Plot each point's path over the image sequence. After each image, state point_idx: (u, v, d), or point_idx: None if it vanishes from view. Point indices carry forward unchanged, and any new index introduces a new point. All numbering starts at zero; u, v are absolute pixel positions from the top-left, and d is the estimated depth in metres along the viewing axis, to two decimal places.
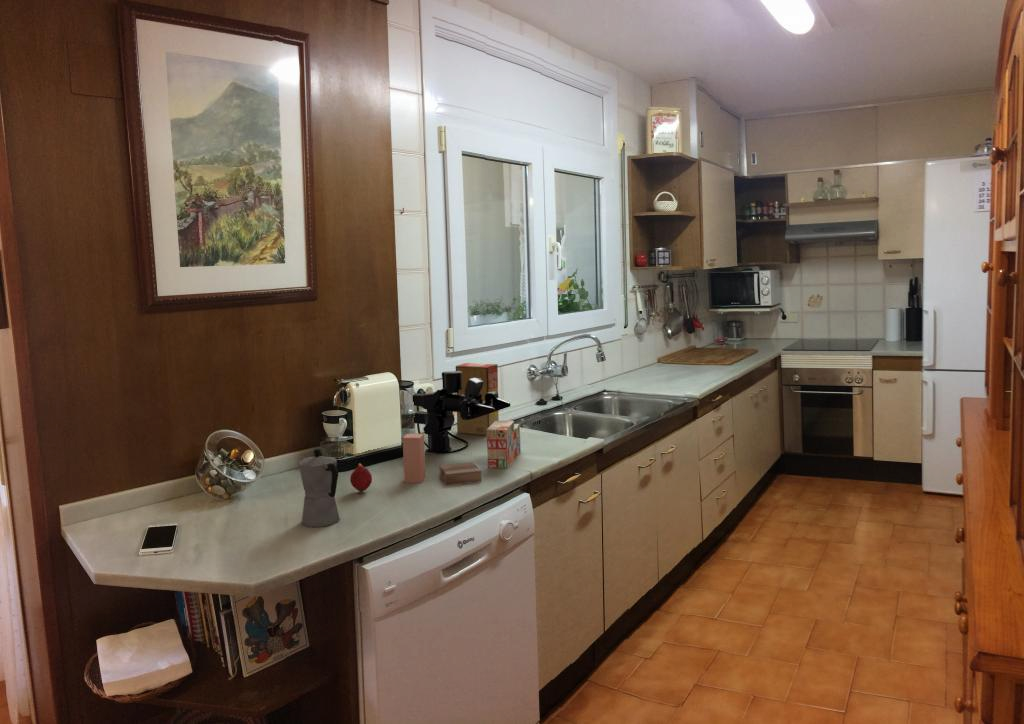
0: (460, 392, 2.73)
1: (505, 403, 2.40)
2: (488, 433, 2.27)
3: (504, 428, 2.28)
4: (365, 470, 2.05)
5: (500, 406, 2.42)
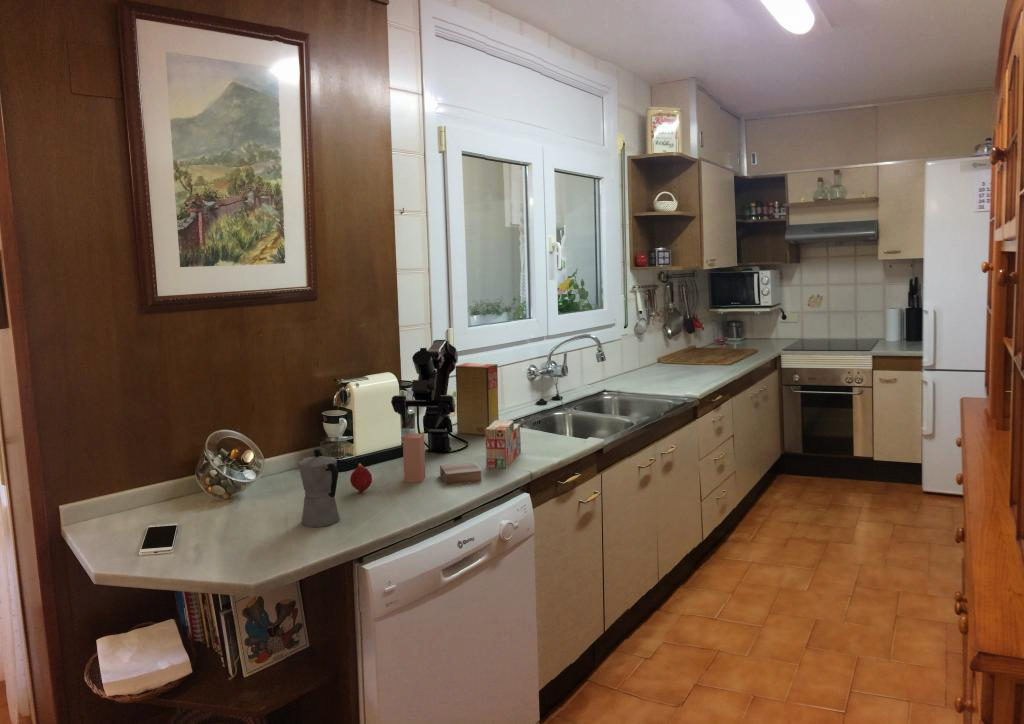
0: (460, 392, 2.73)
1: None
2: (487, 433, 2.27)
3: (503, 428, 2.28)
4: (365, 470, 2.05)
5: None
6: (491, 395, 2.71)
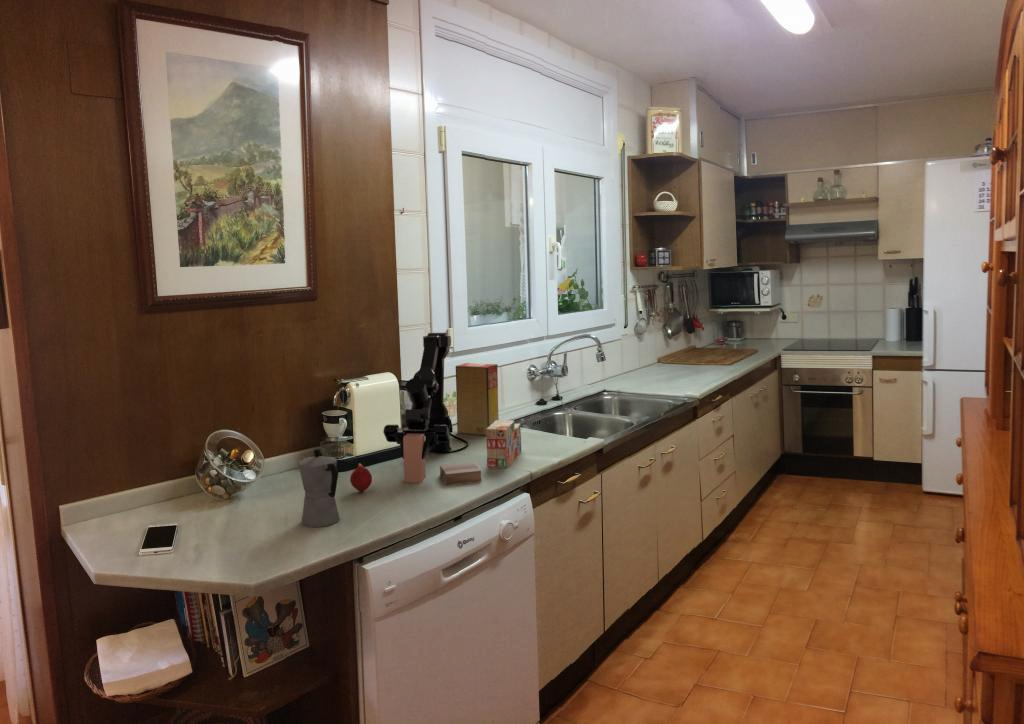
0: (460, 392, 2.73)
1: None
2: (488, 433, 2.28)
3: (504, 428, 2.28)
4: (365, 470, 2.05)
5: None
6: (491, 395, 2.71)
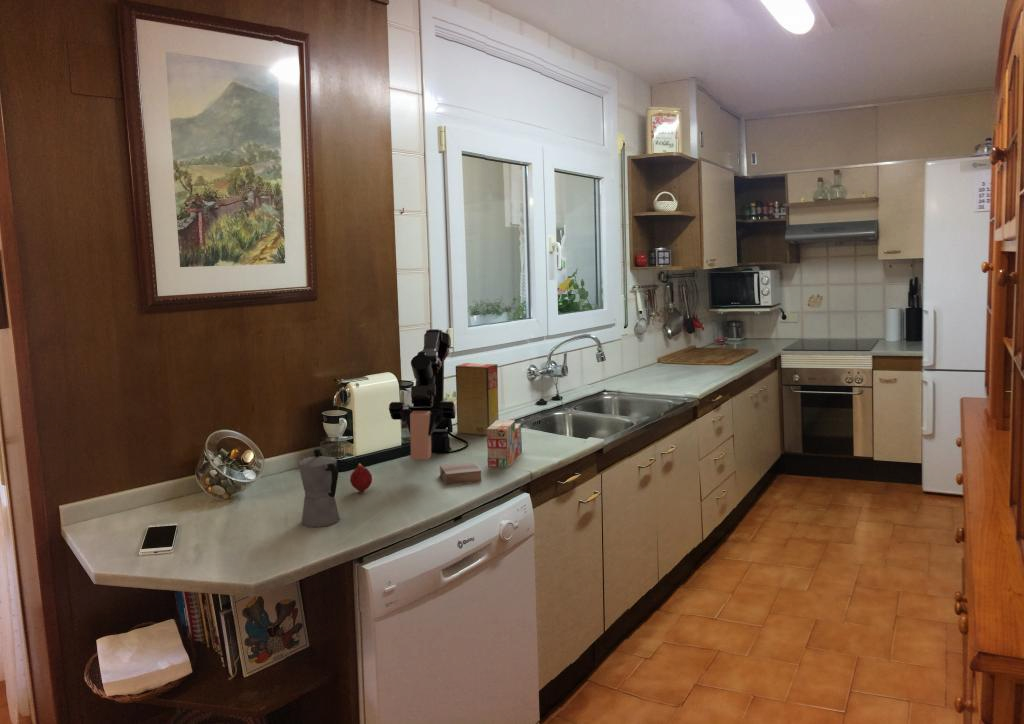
0: (460, 392, 2.73)
1: None
2: (488, 432, 2.28)
3: (504, 427, 2.28)
4: (365, 470, 2.05)
5: None
6: (491, 395, 2.71)
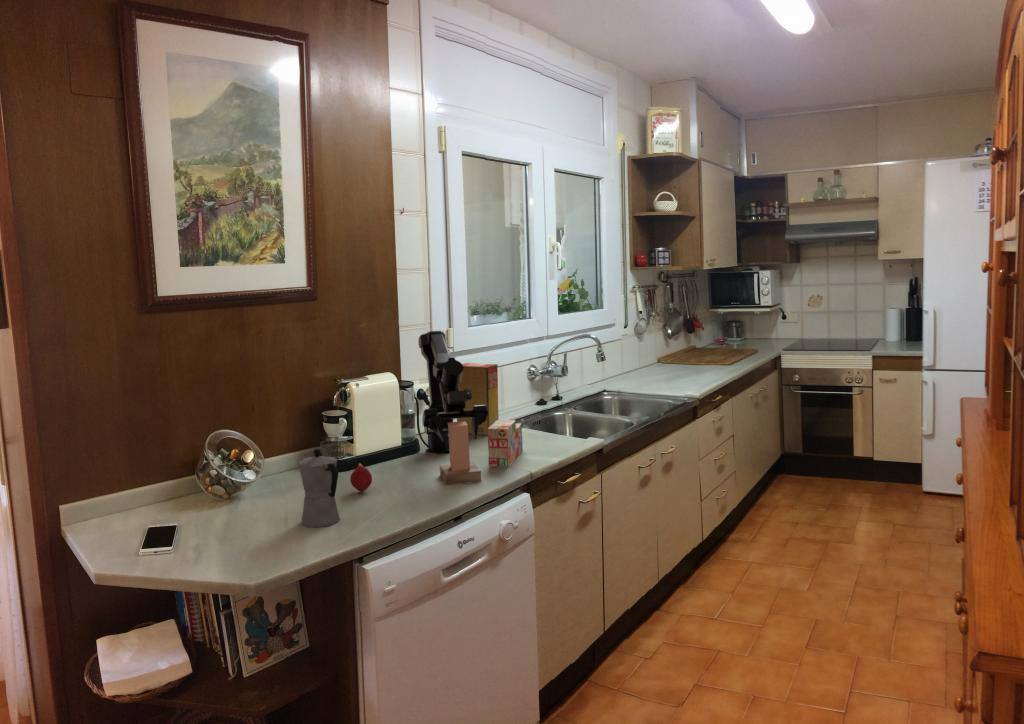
0: None
1: (474, 433, 2.17)
2: (489, 432, 2.28)
3: (505, 427, 2.29)
4: (365, 470, 2.05)
5: (474, 429, 2.19)
6: (491, 395, 2.71)
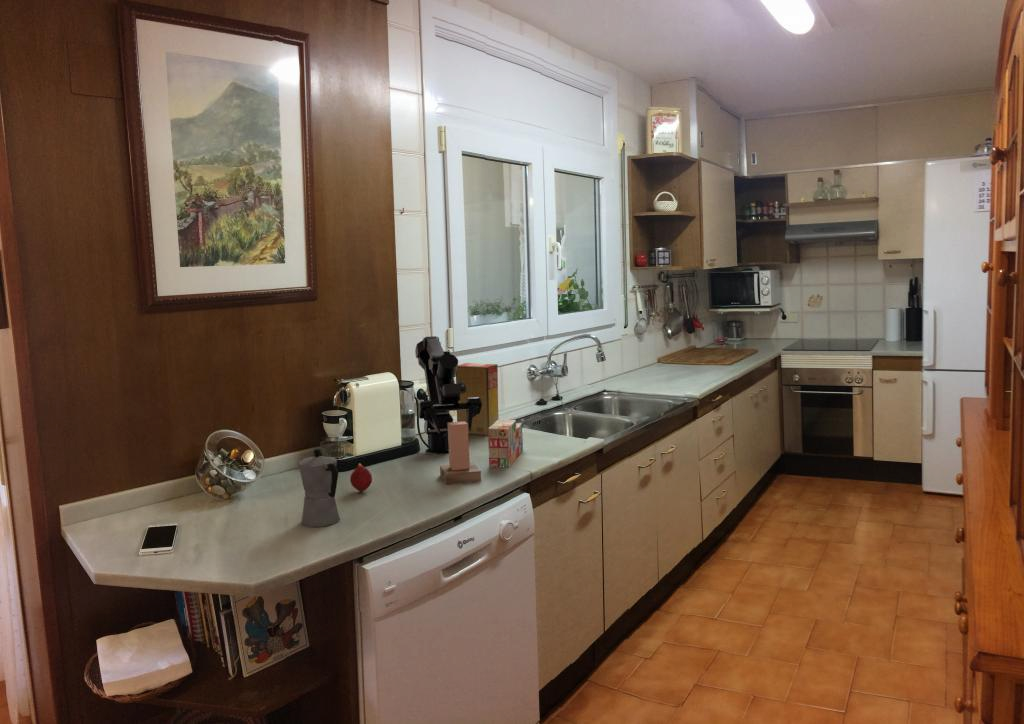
0: None
1: (468, 424, 2.24)
2: (490, 432, 2.28)
3: (506, 427, 2.29)
4: (365, 470, 2.05)
5: (468, 420, 2.26)
6: (491, 395, 2.71)
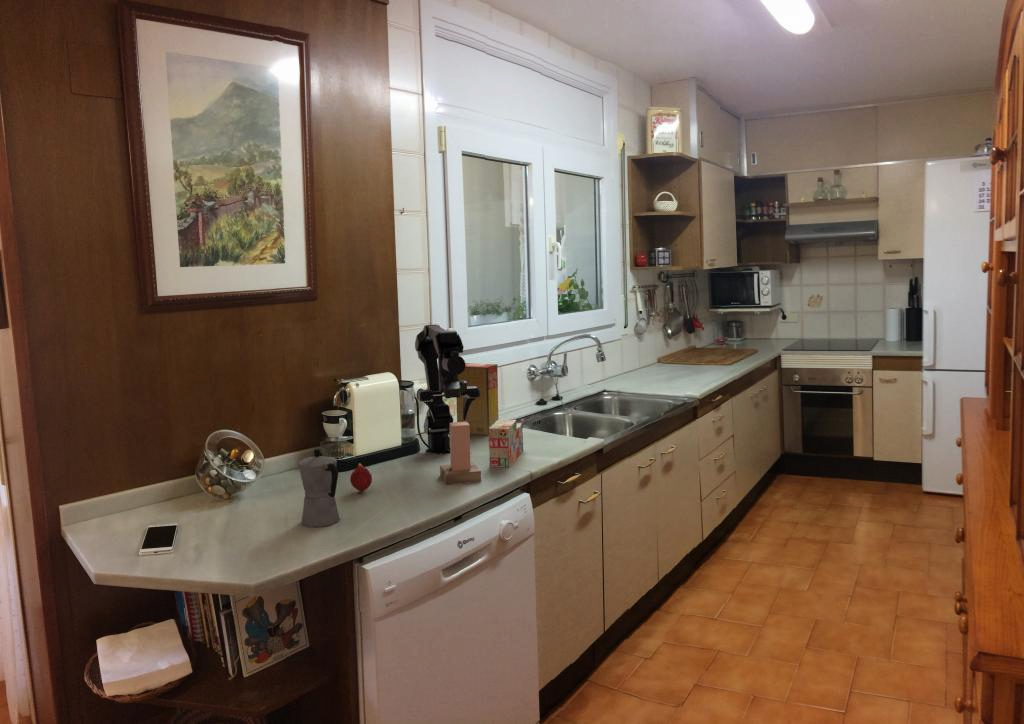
0: None
1: (463, 414, 2.35)
2: (490, 432, 2.28)
3: (506, 427, 2.29)
4: (365, 470, 2.05)
5: (464, 407, 2.36)
6: (491, 395, 2.71)
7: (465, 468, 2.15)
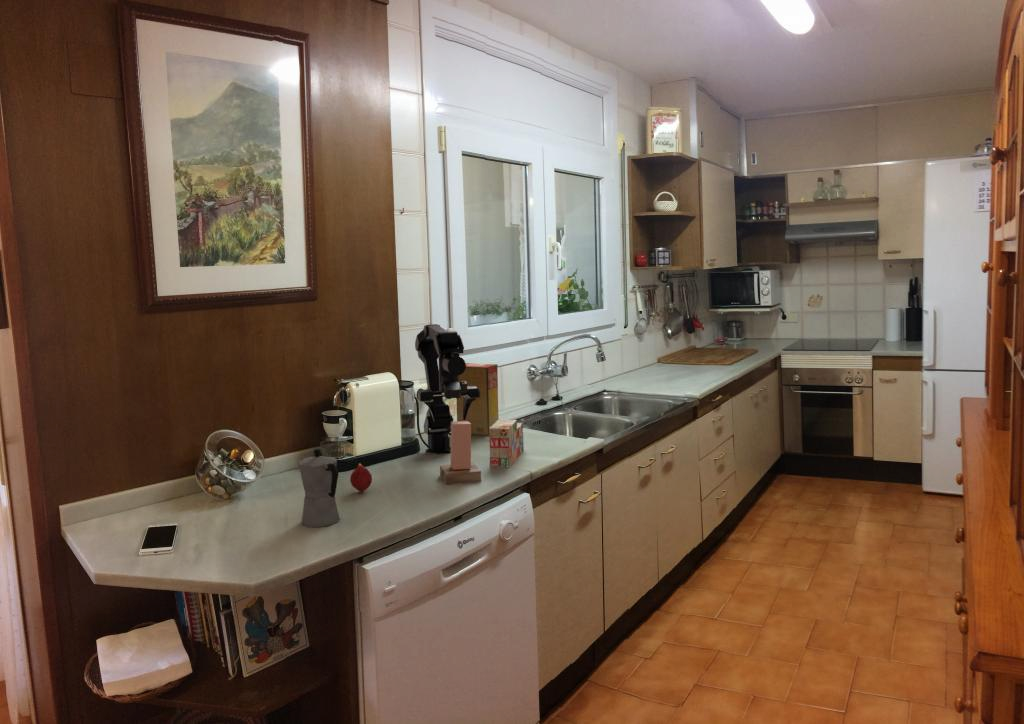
0: None
1: (463, 415, 2.35)
2: (490, 432, 2.28)
3: (506, 427, 2.29)
4: (365, 470, 2.05)
5: (464, 407, 2.36)
6: (491, 395, 2.71)
7: (465, 467, 2.15)
